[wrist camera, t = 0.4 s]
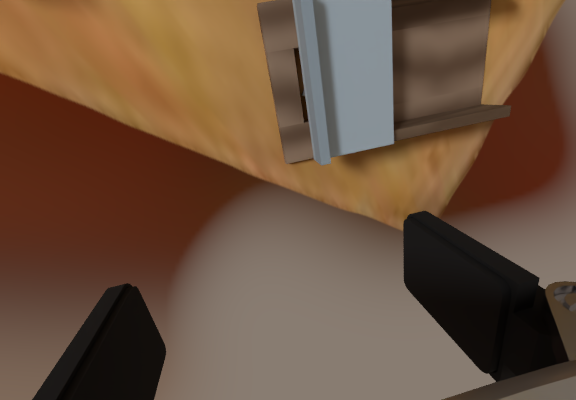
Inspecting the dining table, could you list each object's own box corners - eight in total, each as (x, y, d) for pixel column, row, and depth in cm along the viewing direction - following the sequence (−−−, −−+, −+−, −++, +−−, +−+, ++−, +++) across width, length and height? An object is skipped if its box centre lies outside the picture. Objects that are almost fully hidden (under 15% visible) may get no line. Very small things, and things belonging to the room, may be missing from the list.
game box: (256, 6, 28) (261, -12, 23) (487, -30, 31) (533, -52, 26) (285, 162, 35) (293, 173, 30) (472, 121, 38) (508, 125, 33)
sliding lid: (291, -2, 24) (298, -14, 21) (386, -17, 25) (403, -29, 22) (313, 159, 30) (321, 165, 27) (390, 142, 31) (404, 146, 28)
